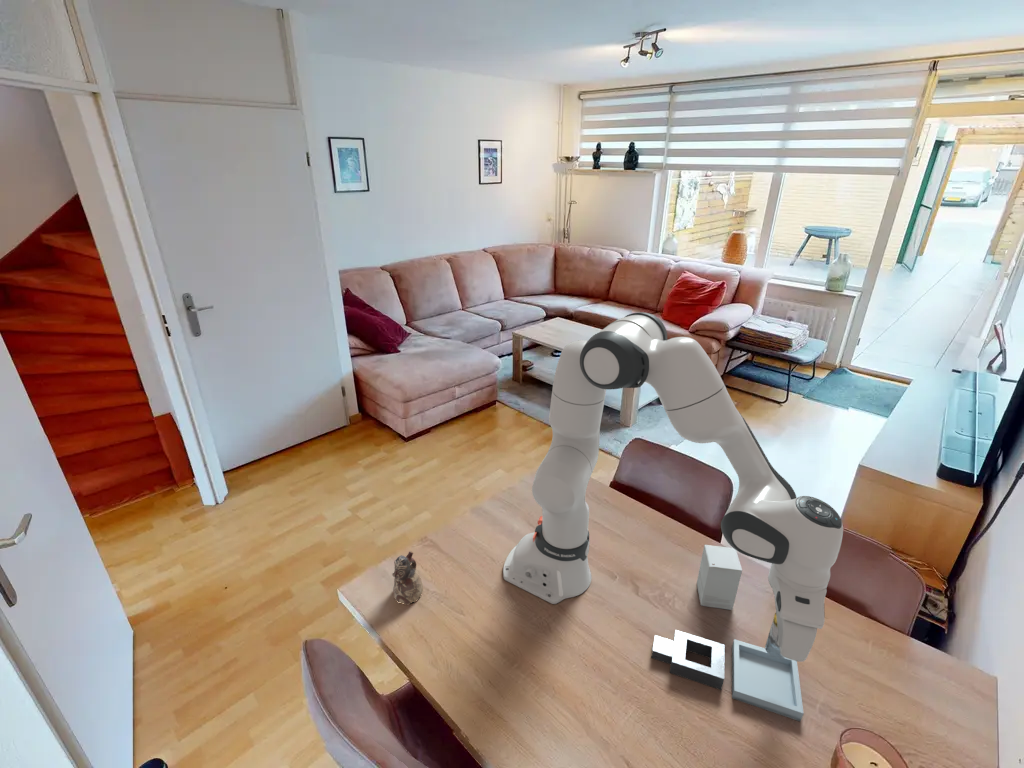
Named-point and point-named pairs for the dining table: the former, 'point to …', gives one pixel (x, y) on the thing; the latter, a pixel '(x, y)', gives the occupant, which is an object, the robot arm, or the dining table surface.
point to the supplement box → (718, 577)
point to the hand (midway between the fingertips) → (780, 632)
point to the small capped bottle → (773, 641)
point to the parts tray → (766, 680)
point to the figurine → (406, 580)
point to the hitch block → (675, 656)
